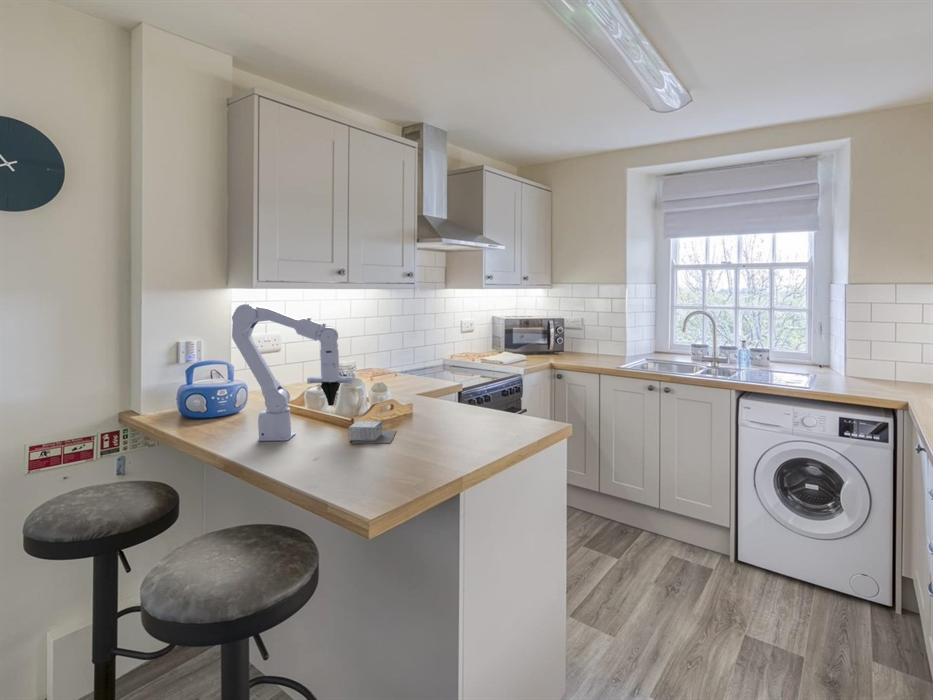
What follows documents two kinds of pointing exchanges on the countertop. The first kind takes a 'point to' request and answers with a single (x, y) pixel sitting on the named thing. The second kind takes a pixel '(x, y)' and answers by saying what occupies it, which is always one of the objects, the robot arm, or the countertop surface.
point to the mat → (379, 439)
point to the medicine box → (365, 430)
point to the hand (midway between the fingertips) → (331, 405)
